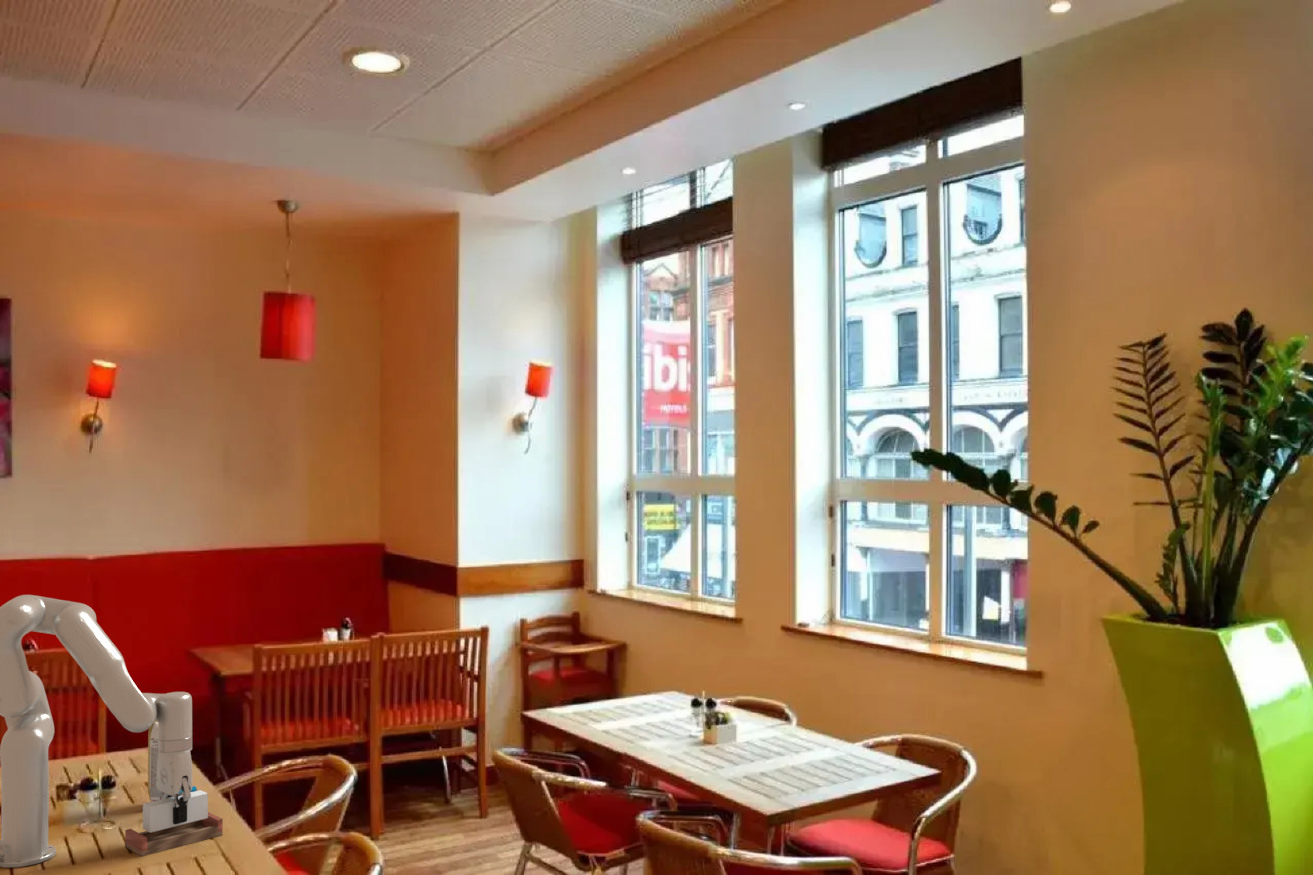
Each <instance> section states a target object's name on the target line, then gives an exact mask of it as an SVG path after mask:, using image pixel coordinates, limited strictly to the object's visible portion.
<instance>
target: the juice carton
mask: <svg viewBox="0 0 1313 875" xmlns="http://www.w3.org/2000/svg"><path fill="white" fill-rule="evenodd" d="M147 736H148V737H147V738H148V739H147V740H148V741H147V743H148V746H147V748H148V750H147V753H148V754H147V763H148V764H147V794H148V797H149V802H152V801H157V800H161V799H163V798H164V794H163V792H161V791H159V790H158V789H157V787H156V780H157V762H158V754H159V753H158V722H157V721H155V722H154V723H153V725H152V726H151V727H150V728H149V729H148V735H147ZM179 792H180V791H179Z"/></svg>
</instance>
